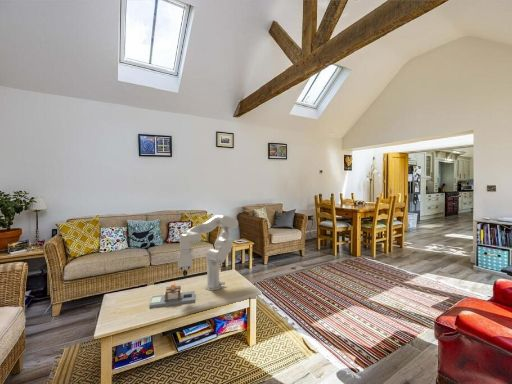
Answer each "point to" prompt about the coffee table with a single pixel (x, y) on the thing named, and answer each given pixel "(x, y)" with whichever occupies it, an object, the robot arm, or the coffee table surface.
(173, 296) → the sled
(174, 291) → the tunnel
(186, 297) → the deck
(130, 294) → the coffee table surface
